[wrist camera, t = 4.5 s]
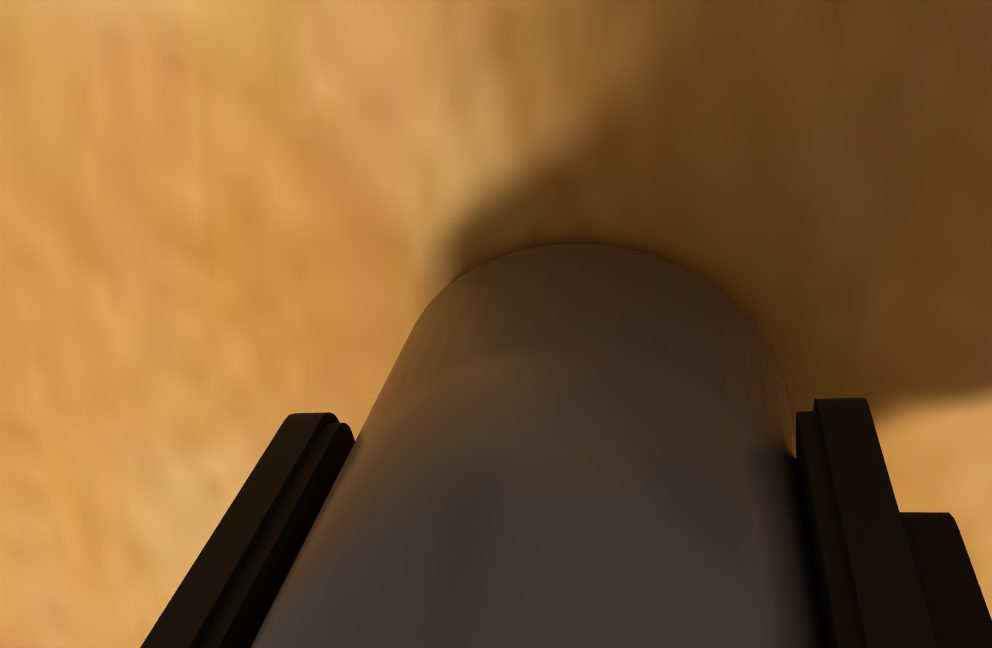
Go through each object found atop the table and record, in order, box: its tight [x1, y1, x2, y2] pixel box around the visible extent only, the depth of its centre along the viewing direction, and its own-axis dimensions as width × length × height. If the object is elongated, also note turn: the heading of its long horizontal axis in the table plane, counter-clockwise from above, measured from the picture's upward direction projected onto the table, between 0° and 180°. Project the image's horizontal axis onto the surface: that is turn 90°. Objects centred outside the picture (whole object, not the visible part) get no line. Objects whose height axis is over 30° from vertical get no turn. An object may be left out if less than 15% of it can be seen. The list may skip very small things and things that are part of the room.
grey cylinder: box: [251, 243, 826, 648], centre depth 9 cm, size 6×6×7 cm
